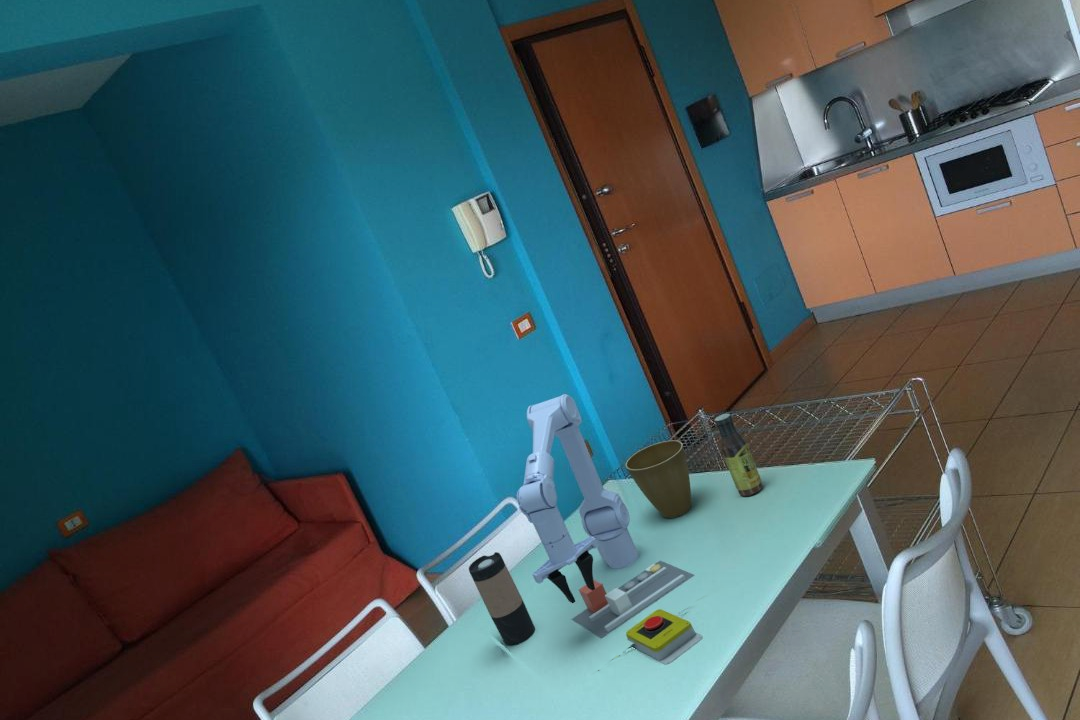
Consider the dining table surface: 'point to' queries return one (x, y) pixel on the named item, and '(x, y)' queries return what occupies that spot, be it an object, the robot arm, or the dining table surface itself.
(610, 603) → the lever
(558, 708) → the dining table surface
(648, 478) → the plant pot
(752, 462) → the sauce bottle
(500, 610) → the travel mug
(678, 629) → the emergency button
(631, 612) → the panel
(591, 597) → the block
